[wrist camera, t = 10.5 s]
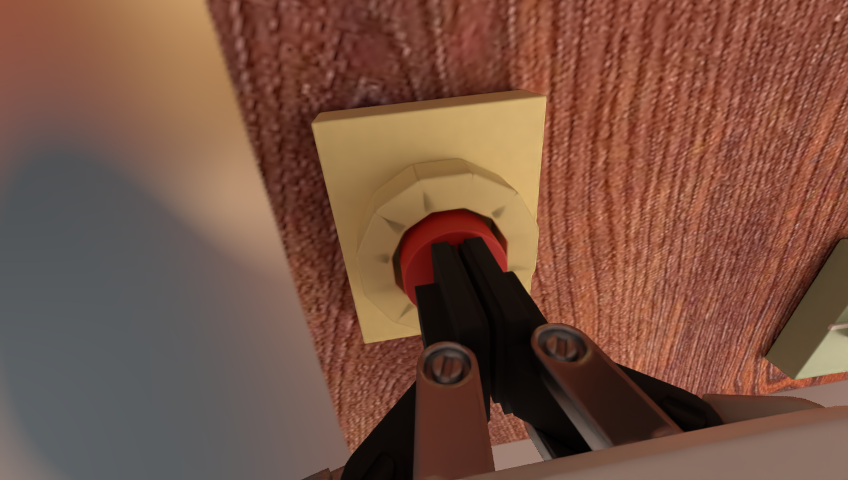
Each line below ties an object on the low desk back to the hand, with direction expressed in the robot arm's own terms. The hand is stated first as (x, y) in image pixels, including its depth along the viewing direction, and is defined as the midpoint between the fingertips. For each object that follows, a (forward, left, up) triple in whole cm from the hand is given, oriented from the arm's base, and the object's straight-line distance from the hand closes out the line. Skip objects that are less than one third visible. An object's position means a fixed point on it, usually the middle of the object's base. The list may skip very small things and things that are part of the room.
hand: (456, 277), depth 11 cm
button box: (0, 0, -5) cm, 5 cm away
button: (0, 0, -2) cm, 2 cm away
